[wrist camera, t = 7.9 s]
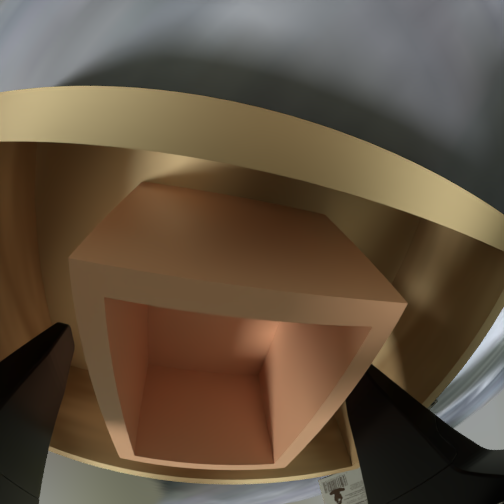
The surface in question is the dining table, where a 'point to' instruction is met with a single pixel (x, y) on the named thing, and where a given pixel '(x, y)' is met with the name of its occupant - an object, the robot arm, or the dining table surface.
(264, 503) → the dining table surface
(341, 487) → the coffee box
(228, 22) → the dining table surface
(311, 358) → the terracotta crate
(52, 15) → the dining table surface
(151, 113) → the pine crate
